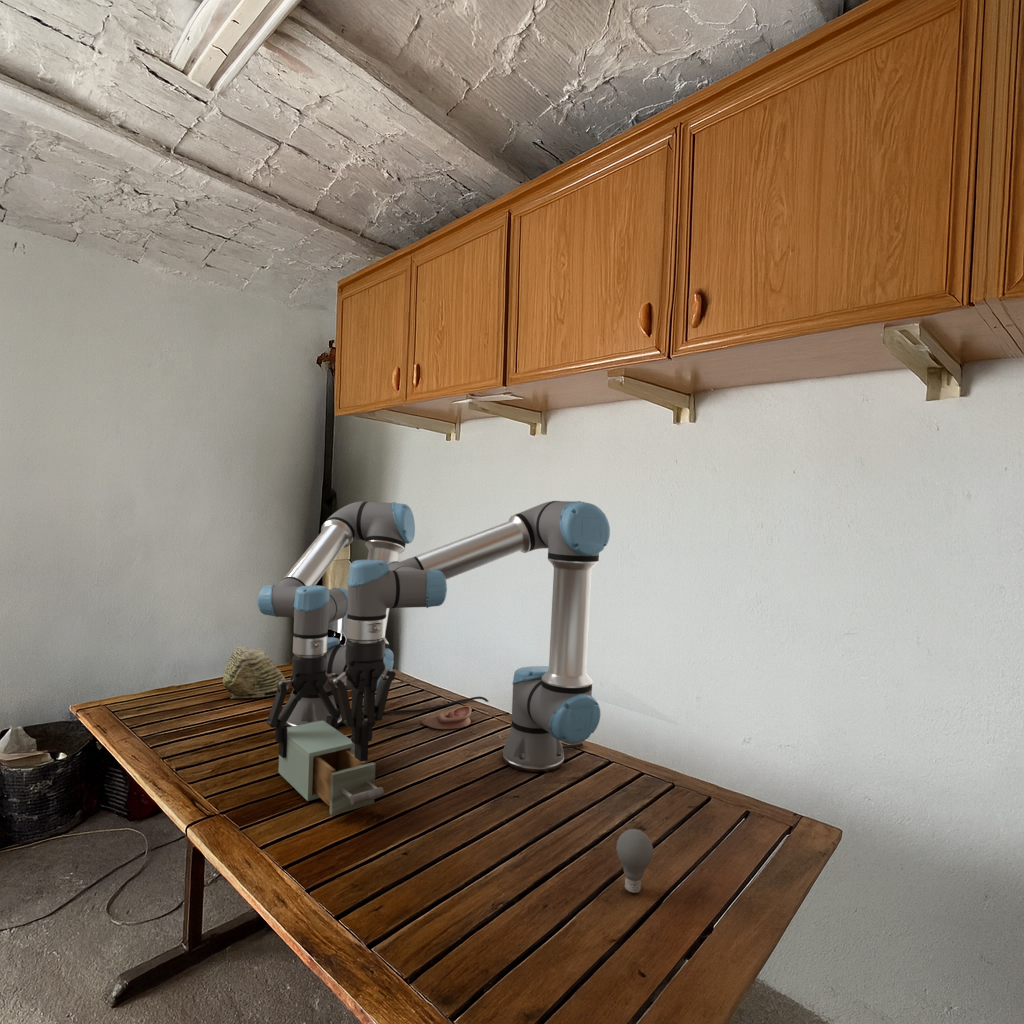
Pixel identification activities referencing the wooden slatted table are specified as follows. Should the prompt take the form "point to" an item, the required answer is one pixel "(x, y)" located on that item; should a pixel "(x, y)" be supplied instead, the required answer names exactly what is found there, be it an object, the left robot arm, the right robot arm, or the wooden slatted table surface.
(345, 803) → the drawer
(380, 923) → the wooden slatted table surface
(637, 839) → the light bulb
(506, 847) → the wooden slatted table surface
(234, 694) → the fossil
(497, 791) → the wooden slatted table surface
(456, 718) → the anatomical model
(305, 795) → the cabinet
